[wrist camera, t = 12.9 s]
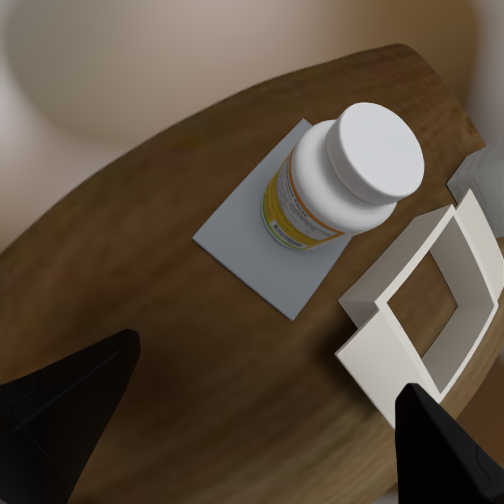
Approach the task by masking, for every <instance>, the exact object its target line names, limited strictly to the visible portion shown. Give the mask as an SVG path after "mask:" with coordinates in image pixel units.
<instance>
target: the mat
mask: <svg viewBox="0 0 504 504" xmlns="http://www.w3.org/2000/svg"><path fill="white" fill-rule="evenodd" d="M311 127H313V126H312V125H311V124H310V123H308V122H307V121H306V120H305V119H303V120H302V121H301V122H300V123H299V124H298V125H297V126H296V127H295V128H294V129H293V130H292V131H291V132H290V133H289V134H288V135H287V136H286V137H285V138H284V139H283V140H282V141H281V142H280V143H279V144H278V145H277V146H276V147H275V148H274V149H273V150H272V151H271V152H270V153H269V154H268V155H267V156H266V157H265V158H264V159H263V160H262V161H261V162H260V163H259V165H258V166H257V167H256V168H255V169H254V170H253V171H252V172H251V173H250V174H249V175H248V176H247V177H246V178H245V179H244V181H243V182H242V183H241V184H240V185H239V186H238V187H237V188H236V189H235V190H234V191H233V192H232V194H231V195H230V196H229V197H228V198H227V199H226V200H225V201H224V202H223V203H222V205H221V206H220V207H219V208H218V209H217V210H216V211H215V212H214V213H213V215H212V216H211V217H210V218H209V219H208V220H207V221H206V222H205V224H204V225H203V226H202V227H201V228H200V229H199V230H198V232H197V233H196V234H195V235H194V236H193V237H192V240H194V241H195V242H196V243H197V244H198V245H199V246H201V247H202V248H203V249H204V250H205V251H207V252H208V253H209V254H210V255H211V256H213V257H214V258H215V259H216V260H217V261H218V262H220V263H221V264H222V265H223V266H224V267H226V268H227V269H228V270H229V271H230V272H232V273H233V274H234V275H235V276H236V277H238V278H239V279H240V280H241V281H243V282H244V283H245V284H246V285H247V286H249V287H250V288H251V289H252V290H253V291H255V292H256V293H257V294H258V295H260V296H261V297H262V298H263V299H265V300H266V301H267V302H268V303H269V304H271V305H272V306H273V307H274V308H276V309H277V310H278V311H279V312H281V313H282V314H283V315H284V316H286V317H287V318H288V319H289V320H292V321H293V320H294V319H295V317H296V316H297V315H298V313H299V312H300V311H301V309H302V308H303V307H304V305H305V304H306V303H307V301H308V300H309V298H310V297H311V296H312V294H313V293H314V292H315V290H316V289H317V287H318V286H319V285H320V283H321V282H322V280H323V279H324V278H325V276H326V275H327V273H328V272H329V270H330V269H331V267H332V266H333V265H334V263H335V262H336V260H337V259H338V257H339V256H340V254H341V253H342V251H343V250H344V248H345V247H346V245H347V244H348V242H349V241H350V239H351V238H352V237H349V238H346V239H343V240H341V241H338V242H335V243H332V244H329V245H327V246H324V247H321V248H318V249H315V250H309V251H299V250H294V249H291V248H288V247H286V246H284V245H283V244H281V243H280V242H278V241H277V240H276V239H275V238H274V237H273V236H272V234H271V233H270V232H269V230H268V229H267V227H266V225H265V223H264V220H263V217H262V209H261V206H262V198H263V194H264V191H265V189H266V187H267V186H268V184H269V182H270V181H271V179H272V178H273V176H274V175H275V174H276V172H277V171H278V169H279V168H280V166H281V165H282V164H283V162H284V161H285V159H286V158H287V157H288V155H289V154H290V152H291V151H292V149H293V148H294V146H295V145H296V144H297V142H298V141H299V140H300V138H301V137H302V136H303V135H304V133H305V132H306V131H308V130H309V129H310V128H311Z"/></svg>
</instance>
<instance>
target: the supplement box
mask: <svg viewBox="0 0 504 504" xmlns="http://www.w3.org/2000/svg"><path fill="white" fill-rule="evenodd" d="M447 186H448V188H449V190H450V191H451V193H452V195H453V197H454V199H455V200H456V202H457V204H459V202H460V201H461V199H462V197H463V196H464V194H465V193H466V191H467V189H469V188H470V189H471V191H472V192H473V194H474V196H475V198H476V200H477V202H478V204H479V206H480V208H481V209H482V211H483V214H484V216H485V218H486V220H487V222H488V224H489V226H490V228H491V230H492V233H493V235H494V237H495V239H496V238H500V237H504V138H502V139H500V140H498V141H496V142H494V143H492V144H490V145H488V146H486V147H484V148H482V149H480V150H478V151H476V152H474V153H472V154H470V155H468V156H467V157H466V158H465V159H464V161H463V162H462V163H461V165H460V166H459V168H458V169H457V170H456V172H455V173H454V175H453V176H452V177H451V179H450V180H449V181H448V183H447Z"/></svg>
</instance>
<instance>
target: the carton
mask: <svg viewBox="0 0 504 504" xmlns="http://www.w3.org/2000/svg"><path fill="white" fill-rule="evenodd" d="M428 250H429V251H430V253H431V255H432V256H433V258H434V260H435V262H436V263H437V265H438V267H439V269H440V271H441V273H442V275H443V277H444V278H445V280H446V282H447V284H448V286H449V288H450V290H451V292H452V294H453V296H454V298H455V301H456V303H457V305H458V307H457V309H456V310H455V312H454V314H453V315H452V317H451V318H450V320H449V321H448V323H447V324H446V326H445V327H444V329H443V330H442V332H441V333H440V334H439V336H438V337H437V339H436V340H435V341H434V343H433V344H432V346H431V347H430V348H429V350H428V351H427V352H426V354H425V355H424V356H423V358H422V359H420V357H419V355H418V353H417V352H416V350H415V348H414V347H413V345H412V343H411V342H410V340H409V338H408V337H407V335H406V333H405V332H404V330H403V328H402V327H401V325H400V324H399V322H398V320H397V319H396V317H395V316H394V314H393V312H392V311H391V309H390V308H389V306H388V305H387V303H386V302H387V301H388V300H389V299H390V298H391V296H392V295H393V294H394V293H395V292H396V291H397V289H398V288H399V287H400V286H401V285H402V283H403V282H404V281H405V280H406V279H407V277H408V276H409V275H410V274H411V272H412V271H413V270H414V269H415V267H416V266H417V265H418V263H419V262H420V261H421V259H422V258H423V257H424V256H425V254H426V253H427V252H428ZM503 286H504V259H503V257H502V254H501V252H500V249H499V247H498V244H497V242H496V240H495V237H494V235H493V233H492V230H491V228H490V226H489V224H488V222H487V220H486V218H485V216H484V214H483V211H482V209H481V208H480V206H479V204H478V202H477V200H476V198H475V196H474V194H473V192H472V191H471V189H470V188H469V189H467V191H466V193H465V194H464V196H463V197H462V199H461V201H460V202H459V204H458V205H457V207H456V208H454V206H453V205H452V204H451V205H448V206H445V207H442V208H440V209H437V210H434V211H431V212H429V213H426V214H423V215H420V216H417V217H415V218H414V219H413V220H412V221H411V222H410V224H409V225H408V226H407V227H406V228H405V229H404V231H403V232H402V233H401V234H400V235H399V236H398V237H397V239H396V240H395V241H394V242H393V243H392V244H391V245H390V246H389V247H388V249H387V250H386V251H385V252H384V253H383V254H382V255H381V256H380V257H379V258H378V259H377V261H376V262H375V263H374V264H373V265H372V266H371V267H370V268H369V269H368V270H367V271H366V272H365V273H364V274H363V275H362V276H361V277H360V278H359V279H358V280H357V281H356V282H355V283H354V284H353V285H352V286H351V287H350V288H349V289H348V290H347V291H346V292H345V293H344V294H343V295H342V296H341V297H340V298H339V299H338V302H339V303H340V304H341V306H342V307H343V309H344V310H345V311H346V313H347V314H348V315H349V317H350V318H351V320H352V321H353V322H354V324H355V325H356V327H357V328H358V330H357V331H356V332H355V333H354V334H353V335H352V336H351V338H350V339H349V340H348V341H347V342H346V343H345V344H344V345H343V346H342V347H341V348H340V349H338V350H337V351H336V352H335V353H334V354H335V356H336V357H337V358H338V359H339V361H340V362H341V363H342V365H343V366H344V367H345V368H346V370H347V371H348V372H349V373H350V375H351V376H352V377H353V379H354V380H355V381H356V382H357V384H358V385H359V386H360V387H361V389H362V390H363V391H364V393H365V394H366V395H367V396H368V398H369V399H370V400H371V402H372V403H373V404H374V405H375V407H376V408H377V409H378V410H379V412H380V413H381V414H382V416H383V417H384V418H385V419H386V421H387V422H388V423H389V425H390V426H391V427H392V428H393V430H394V431H395V400H396V398H397V396H398V395H399V393H400V392H401V391H402V389H403V388H404V386H405V385H406V384H407V383H418V384H419V385H420V386H421V387H422V388H423V389H424V390H425V391H426V392H427V393H428V394H429V395H430V396H431V397H432V398H433V399H434V400H435V401H436V402H437V403H438V404H439V403H440V402H441V401H442V399H443V398H444V397H445V395H446V394H447V392H448V391H449V390H450V388H451V387H452V385H453V384H454V383H455V381H456V380H457V378H458V377H459V375H460V374H461V372H462V371H463V369H464V368H465V366H466V365H467V363H468V361H469V360H470V358H471V356H472V355H473V353H474V352H475V350H476V348H477V346H478V345H479V343H480V341H481V339H482V338H483V336H484V334H485V332H486V330H487V328H488V327H489V325H490V323H491V321H492V319H493V317H494V315H495V313H496V311H497V309H498V306H499V305H498V303H497V300H498V298H499V295H500V293H501V291H502V289H503Z"/></svg>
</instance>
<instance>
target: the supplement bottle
mask: <svg viewBox="0 0 504 504" xmlns="http://www.w3.org/2000/svg"><path fill="white" fill-rule="evenodd" d="M423 175H424V160H423V155H422V151H421V148H420V146H419V143H418V141H417V139H416V137H415V136H414V134H413V132H412V131H411V130H410V128H409V127H408V126H407V125H406V124H405V122H404V121H403V120H402V119H401V118H399V117H398V116H397V115H396V114H394V113H393V112H391V111H390V110H388V109H386V108H385V107H382V106H380V105H377V104H374V103H358V104H354V105H352V106H350V107H349V108H347V109H346V110H345V111H344V112H343V113H342V114H341V115H340V117H339V118H338V119H337V120H329V121H324V122H321V123H318V124H316V125H314V126H313V127H311V128H310V129H309V130H308V131H306V132H305V133H304V135H303V136H302V137H301V138H300V140H299V141H298V142H297V144H296V145H295V146H294V148H293V149H292V151H291V152H290V154H289V155H288V157H287V158H286V159H285V161H284V162H283V164H282V165H281V166H280V168H279V169H278V171H277V172H276V174H275V175H274V176H273V178H272V179H271V181H270V182H269V184H268V186H267V187H266V189H265V191H264V194H263V198H262V206H261V209H262V217H263V220H264V223H265V225H266V227H267V229H268V230H269V232H270V233H271V234H272V236H273V237H274V238H275V239H276V240H277V241H278V242H280V243H281V244H283V245H284V246H286V247H288V248H291V249H294V250H299V251H309V250H315V249H318V248H321V247H324V246H327V245H329V244H332V243H335V242H338V241H341V240H343V239H346V238H349V237H352V236H355V235H357V234H360V233H363V232H366V231H368V230H370V229H372V228H375V227H377V226H378V225H380V224H382V223H383V222H384V221H385V220H386V219H387V218H388V217H389V216H390V214H391V213H392V212H393V210H394V208H395V206H396V204H397V201H399V200H400V199H402V198H404V197H406V196H408V195H410V194H412V193H413V192H414V191H415V190H416V189H417V188H418V187H419V185H420V184H421V181H422V178H423Z"/></svg>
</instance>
